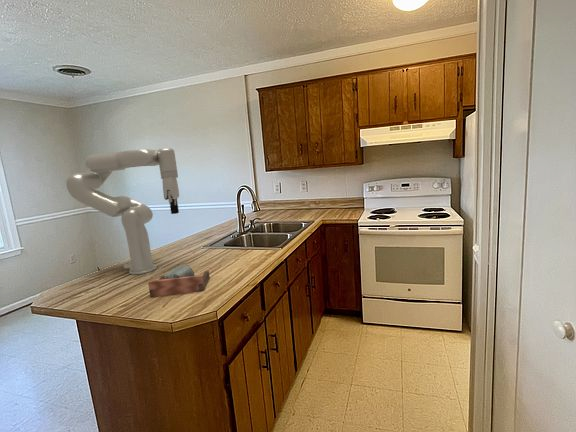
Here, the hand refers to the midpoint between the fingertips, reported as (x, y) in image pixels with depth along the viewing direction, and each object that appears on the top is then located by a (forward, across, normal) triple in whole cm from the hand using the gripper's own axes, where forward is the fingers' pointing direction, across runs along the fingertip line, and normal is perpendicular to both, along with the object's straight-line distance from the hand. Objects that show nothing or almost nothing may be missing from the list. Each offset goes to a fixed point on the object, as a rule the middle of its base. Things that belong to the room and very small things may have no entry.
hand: (175, 213), depth 151 cm
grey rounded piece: (+27, +27, +6) cm, 39 cm away
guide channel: (+27, +28, +6) cm, 39 cm away
